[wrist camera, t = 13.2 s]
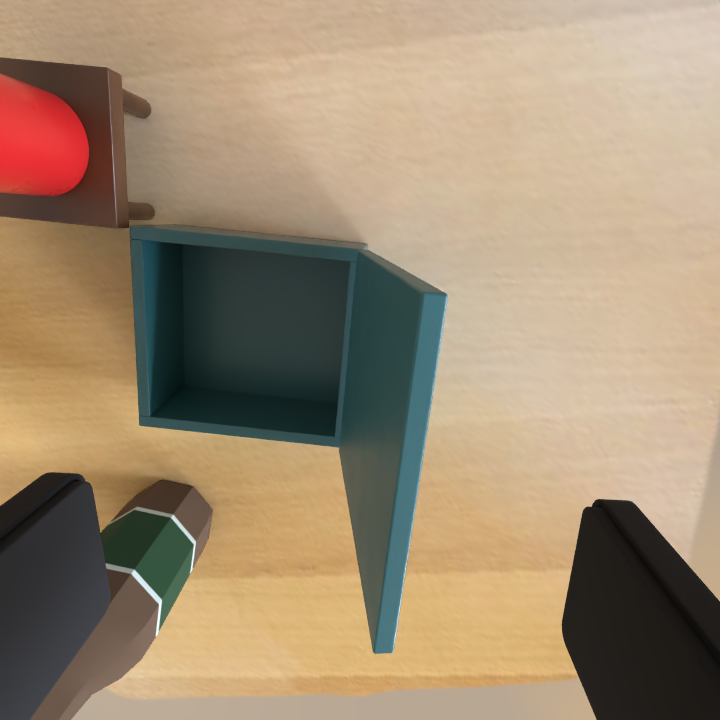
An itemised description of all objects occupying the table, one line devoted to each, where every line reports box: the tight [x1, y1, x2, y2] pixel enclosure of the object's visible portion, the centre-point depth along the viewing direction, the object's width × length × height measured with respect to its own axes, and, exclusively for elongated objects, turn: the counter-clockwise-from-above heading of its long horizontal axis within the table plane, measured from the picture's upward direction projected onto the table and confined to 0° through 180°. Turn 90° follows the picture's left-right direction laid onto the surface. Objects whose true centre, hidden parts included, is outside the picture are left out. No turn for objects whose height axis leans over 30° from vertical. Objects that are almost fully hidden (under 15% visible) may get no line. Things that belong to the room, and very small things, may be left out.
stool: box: [0, 57, 155, 228], centre depth 31 cm, size 9×9×6 cm
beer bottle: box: [30, 480, 212, 720], centre depth 31 cm, size 8×8×24 cm
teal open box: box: [130, 225, 368, 447], centre depth 34 cm, size 15×14×7 cm
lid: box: [339, 250, 448, 654], centre depth 22 cm, size 15×14×1 cm
